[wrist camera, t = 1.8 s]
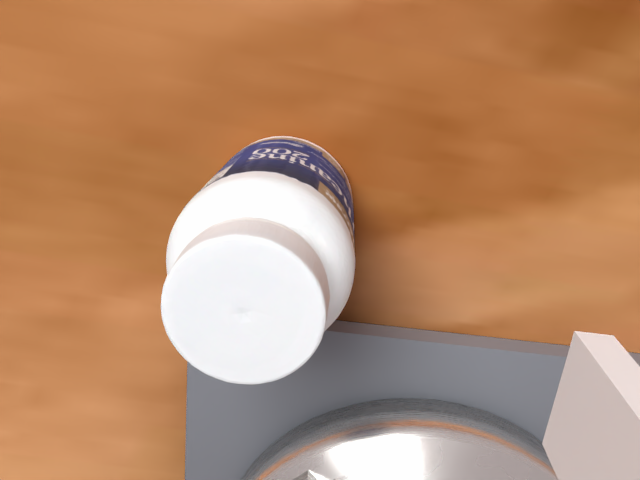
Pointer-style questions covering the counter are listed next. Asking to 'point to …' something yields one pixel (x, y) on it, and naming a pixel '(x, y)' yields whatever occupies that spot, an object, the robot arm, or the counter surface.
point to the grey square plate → (368, 388)
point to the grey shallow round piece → (404, 445)
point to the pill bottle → (260, 262)
